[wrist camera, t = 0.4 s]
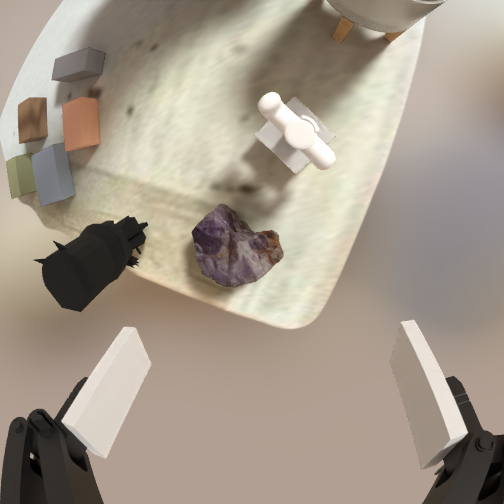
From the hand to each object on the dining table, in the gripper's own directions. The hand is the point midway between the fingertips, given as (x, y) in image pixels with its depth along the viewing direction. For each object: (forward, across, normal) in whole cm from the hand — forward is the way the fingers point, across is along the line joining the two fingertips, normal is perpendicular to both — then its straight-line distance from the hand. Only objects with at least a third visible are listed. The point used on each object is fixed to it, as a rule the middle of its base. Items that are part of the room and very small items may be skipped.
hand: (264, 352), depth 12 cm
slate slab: (+29, -39, +10) cm, 50 cm away
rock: (+29, -6, -5) cm, 30 cm away
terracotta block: (+29, -29, +17) cm, 45 cm away
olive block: (+29, -49, +13) cm, 58 cm away
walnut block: (+29, -43, +23) cm, 56 cm away
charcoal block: (+29, -29, +28) cm, 50 cm away
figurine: (+29, +3, +10) cm, 31 cm away
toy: (+29, -22, -2) cm, 37 cm away
